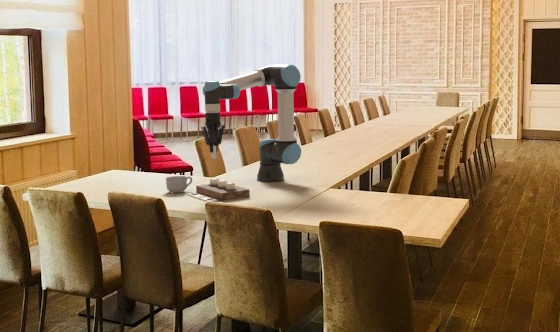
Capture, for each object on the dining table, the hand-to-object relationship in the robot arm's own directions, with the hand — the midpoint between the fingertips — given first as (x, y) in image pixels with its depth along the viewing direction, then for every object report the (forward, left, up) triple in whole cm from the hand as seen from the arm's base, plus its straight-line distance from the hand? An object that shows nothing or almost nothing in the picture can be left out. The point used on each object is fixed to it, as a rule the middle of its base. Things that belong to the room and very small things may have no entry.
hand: (213, 158), depth 369 cm
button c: (-2, +13, -14) cm, 19 cm away
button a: (-2, -3, -14) cm, 14 cm away
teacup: (+11, -17, -19) cm, 28 cm away
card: (+10, +5, -18) cm, 21 cm away
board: (-2, +5, -18) cm, 19 cm away
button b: (-2, +5, -14) cm, 15 cm away
